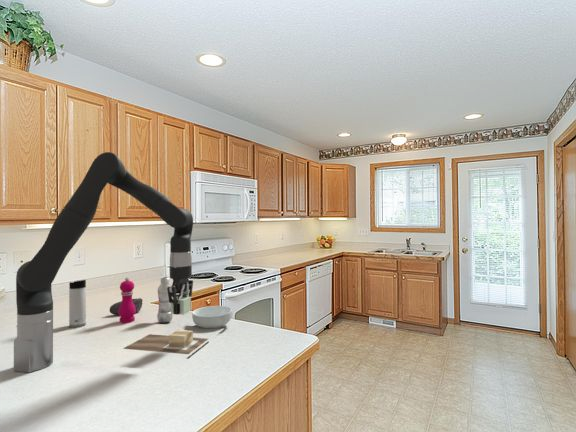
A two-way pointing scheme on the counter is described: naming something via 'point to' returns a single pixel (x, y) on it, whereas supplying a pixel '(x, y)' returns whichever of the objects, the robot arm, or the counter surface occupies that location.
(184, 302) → the sage block
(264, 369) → the counter surface
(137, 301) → the perforated stone tool
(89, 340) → the counter surface
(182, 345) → the maple block
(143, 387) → the counter surface
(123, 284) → the pepper mill
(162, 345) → the brown flat wooden board
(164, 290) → the plastic bottle
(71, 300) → the travel mug
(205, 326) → the cereal bowl
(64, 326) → the counter surface
